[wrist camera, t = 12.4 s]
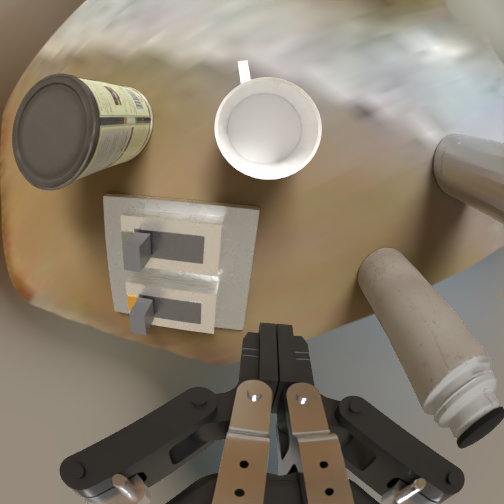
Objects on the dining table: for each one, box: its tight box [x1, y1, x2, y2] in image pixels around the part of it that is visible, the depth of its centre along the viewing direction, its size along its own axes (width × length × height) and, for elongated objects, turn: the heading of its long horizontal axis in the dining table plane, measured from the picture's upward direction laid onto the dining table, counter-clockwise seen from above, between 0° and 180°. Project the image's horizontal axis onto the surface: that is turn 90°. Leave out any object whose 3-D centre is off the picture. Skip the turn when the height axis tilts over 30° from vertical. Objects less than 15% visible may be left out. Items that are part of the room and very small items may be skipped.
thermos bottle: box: [358, 248, 504, 448], centre depth 26 cm, size 8×8×28 cm
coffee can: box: [12, 74, 153, 190], centre depth 24 cm, size 10×10×14 cm
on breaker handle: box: [122, 232, 151, 272], centre depth 30 cm, size 2×3×4 cm, turn 173°
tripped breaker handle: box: [129, 297, 154, 335], centre depth 34 cm, size 2×3×4 cm, turn 173°
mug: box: [215, 60, 322, 180], centre depth 26 cm, size 12×9×9 cm
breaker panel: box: [103, 193, 260, 334], centre depth 36 cm, size 20×18×5 cm
